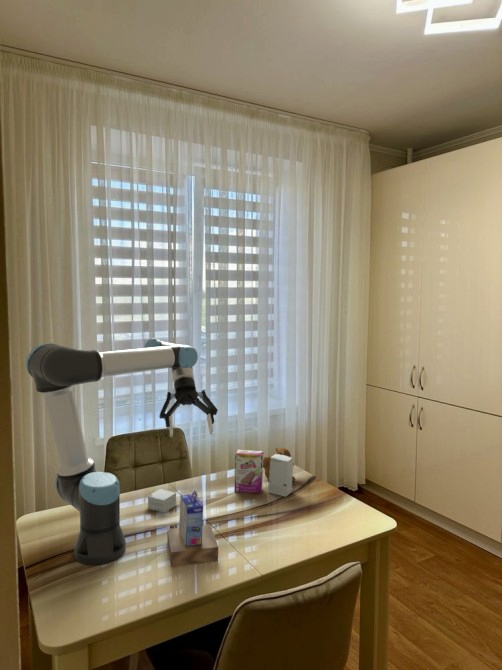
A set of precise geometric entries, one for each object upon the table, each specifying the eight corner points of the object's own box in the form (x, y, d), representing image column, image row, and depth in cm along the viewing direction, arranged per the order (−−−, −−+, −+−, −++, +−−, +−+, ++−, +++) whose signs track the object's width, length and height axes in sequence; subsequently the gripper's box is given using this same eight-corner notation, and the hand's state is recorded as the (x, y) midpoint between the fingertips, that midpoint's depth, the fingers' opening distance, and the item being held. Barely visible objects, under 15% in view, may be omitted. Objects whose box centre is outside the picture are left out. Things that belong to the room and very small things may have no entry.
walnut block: (171, 568, 138) (171, 552, 138) (167, 544, 152) (167, 529, 151) (218, 562, 142) (218, 546, 141) (210, 539, 155) (210, 524, 155)
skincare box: (268, 493, 191) (268, 457, 189) (274, 487, 196) (275, 452, 195) (287, 497, 187) (287, 461, 186) (292, 491, 192) (293, 456, 191)
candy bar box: (234, 492, 191) (234, 453, 189) (235, 487, 195) (236, 449, 194) (261, 494, 189) (262, 454, 188) (262, 489, 194) (263, 450, 193)
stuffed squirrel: (297, 481, 203) (297, 451, 202) (266, 484, 199) (266, 454, 198) (288, 472, 213) (289, 444, 212) (258, 475, 209) (259, 446, 207)
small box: (176, 505, 179) (176, 492, 178) (164, 513, 172) (164, 500, 171) (160, 500, 182) (160, 488, 182) (147, 509, 175) (147, 495, 175)
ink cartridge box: (203, 544, 143) (204, 498, 141) (185, 547, 141) (185, 500, 139) (195, 529, 152) (196, 485, 151) (178, 531, 150) (178, 487, 149)
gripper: (215, 386, 179) (225, 436, 166) (148, 389, 171) (153, 442, 159) (219, 374, 174) (229, 425, 161) (150, 377, 166) (155, 431, 153)
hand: (191, 433), depth 160 cm, fingers open, 13 cm apart
